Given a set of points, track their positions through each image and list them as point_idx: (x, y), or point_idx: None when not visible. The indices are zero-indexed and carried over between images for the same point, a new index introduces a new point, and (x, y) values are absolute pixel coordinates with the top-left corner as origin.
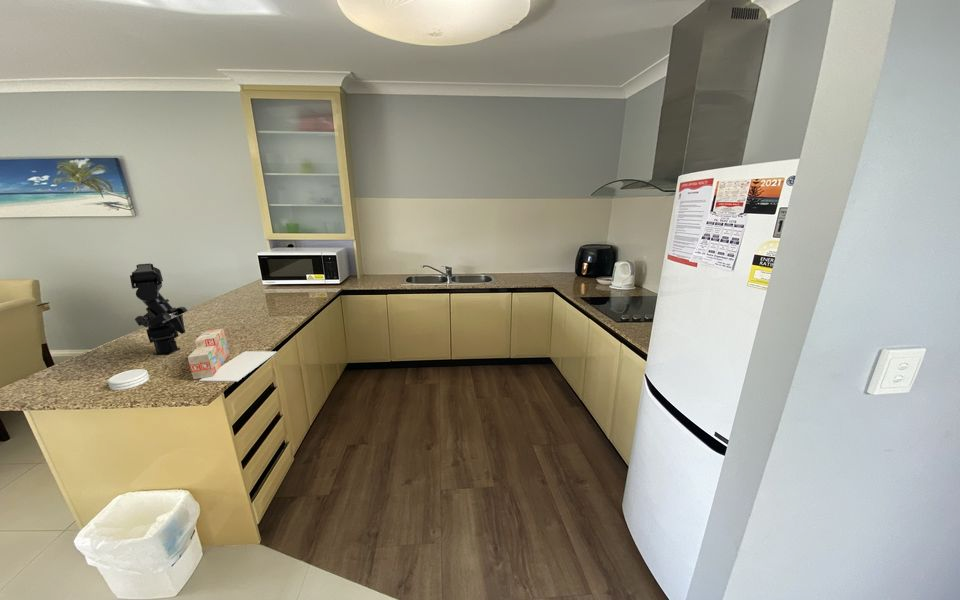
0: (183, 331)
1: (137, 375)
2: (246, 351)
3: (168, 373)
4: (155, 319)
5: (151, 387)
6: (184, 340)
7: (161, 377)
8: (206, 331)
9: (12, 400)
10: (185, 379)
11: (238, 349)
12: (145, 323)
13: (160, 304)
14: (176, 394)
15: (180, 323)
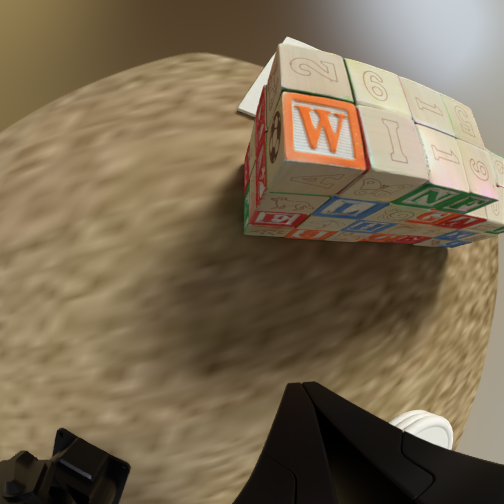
0: (324, 392)
1: (434, 433)
2: (244, 102)
3: (376, 373)
4: None
5: (453, 364)
6: None
7: (401, 379)
8: (306, 151)
9: None
10: (439, 280)
11: (184, 138)
12: None
13: None
14: (491, 268)
15: (418, 447)
